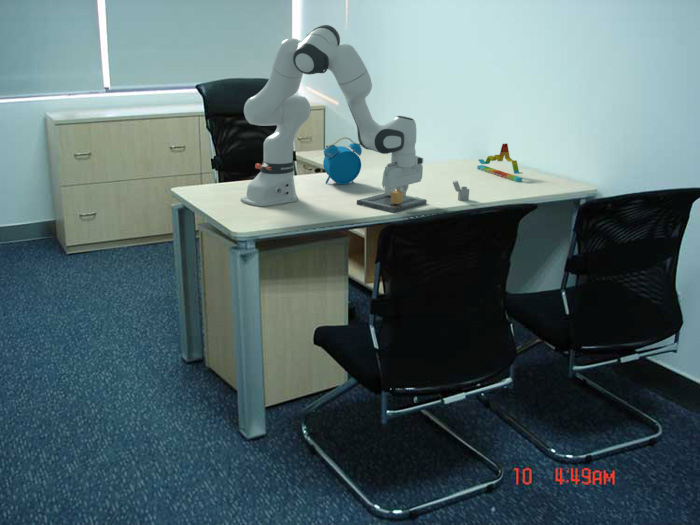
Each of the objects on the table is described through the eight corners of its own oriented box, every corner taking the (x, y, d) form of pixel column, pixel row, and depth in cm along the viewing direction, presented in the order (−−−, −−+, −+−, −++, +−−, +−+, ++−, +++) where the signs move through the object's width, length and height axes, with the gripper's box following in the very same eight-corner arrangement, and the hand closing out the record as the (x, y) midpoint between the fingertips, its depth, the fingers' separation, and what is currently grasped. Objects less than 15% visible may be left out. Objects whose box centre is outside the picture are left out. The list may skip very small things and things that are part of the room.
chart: (476, 169, 355) (478, 137, 350) (482, 169, 356) (484, 137, 352) (515, 182, 329) (519, 148, 324) (521, 182, 330) (525, 148, 326)
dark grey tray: (393, 212, 274) (394, 208, 274) (356, 204, 286) (356, 200, 285) (426, 203, 289) (426, 199, 288) (389, 195, 300) (389, 191, 299)
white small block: (390, 195, 291) (390, 185, 290) (384, 194, 293) (384, 184, 292) (395, 194, 293) (395, 184, 292) (389, 193, 295) (389, 183, 294)
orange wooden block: (397, 204, 279) (397, 193, 278) (390, 202, 281) (391, 192, 279) (402, 202, 281) (402, 192, 280) (395, 201, 283) (396, 190, 282)
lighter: (466, 198, 297) (467, 179, 295) (468, 199, 296) (470, 179, 293) (451, 200, 294) (452, 180, 292) (453, 201, 293) (455, 181, 290)
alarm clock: (353, 179, 327) (354, 133, 320) (364, 184, 318) (365, 137, 312) (317, 182, 320) (318, 135, 313) (327, 187, 311) (328, 139, 305)
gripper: (392, 165, 269) (391, 203, 274) (426, 158, 284) (424, 194, 288) (378, 162, 273) (377, 200, 277) (412, 155, 288) (411, 191, 292)
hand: (401, 197), depth 283 cm, fingers closed
